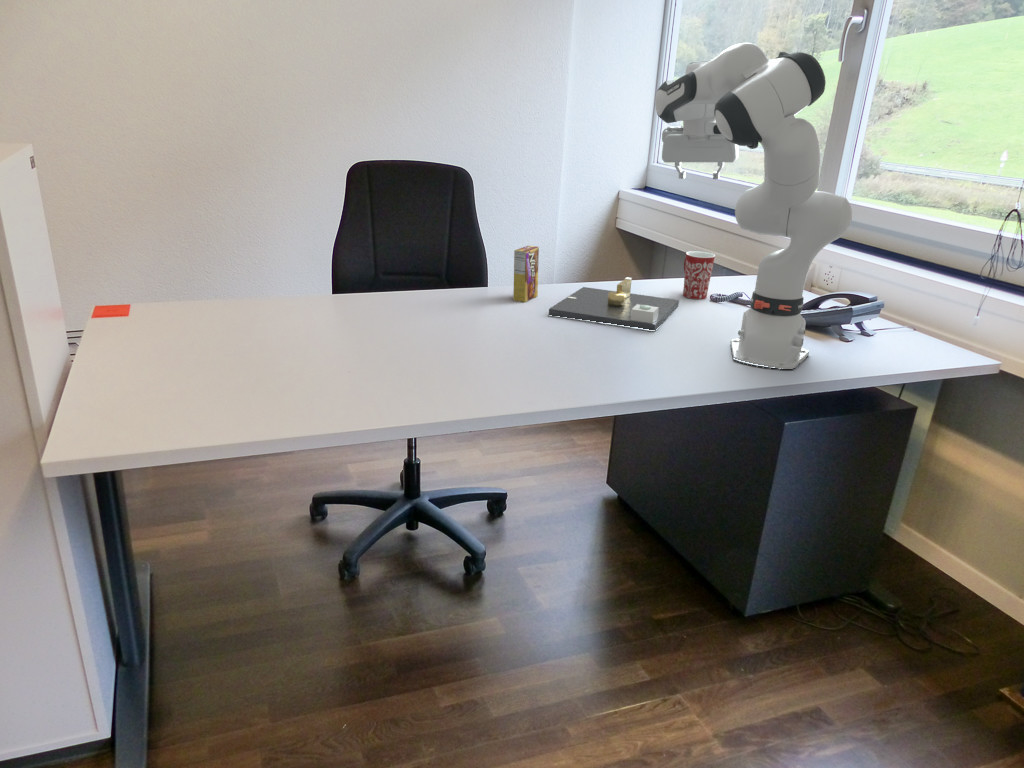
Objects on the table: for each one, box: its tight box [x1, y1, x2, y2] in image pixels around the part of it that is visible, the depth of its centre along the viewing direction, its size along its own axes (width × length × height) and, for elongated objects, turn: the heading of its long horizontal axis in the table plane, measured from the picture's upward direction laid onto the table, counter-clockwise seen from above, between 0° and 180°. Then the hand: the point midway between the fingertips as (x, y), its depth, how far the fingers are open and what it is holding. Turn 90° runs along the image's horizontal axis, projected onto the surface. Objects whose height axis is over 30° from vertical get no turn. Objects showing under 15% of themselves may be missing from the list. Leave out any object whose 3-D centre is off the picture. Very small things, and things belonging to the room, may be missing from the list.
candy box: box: [512, 245, 540, 303], centre depth 221 cm, size 9×4×15 cm, turn 152°
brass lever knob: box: [608, 276, 633, 306], centre depth 217 cm, size 14×5×5 cm, turn 156°
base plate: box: [548, 286, 680, 331], centre depth 213 cm, size 30×30×6 cm
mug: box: [682, 250, 716, 300], centre depth 234 cm, size 13×9×14 cm
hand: (699, 178), depth 204 cm, fingers open, 8 cm apart
